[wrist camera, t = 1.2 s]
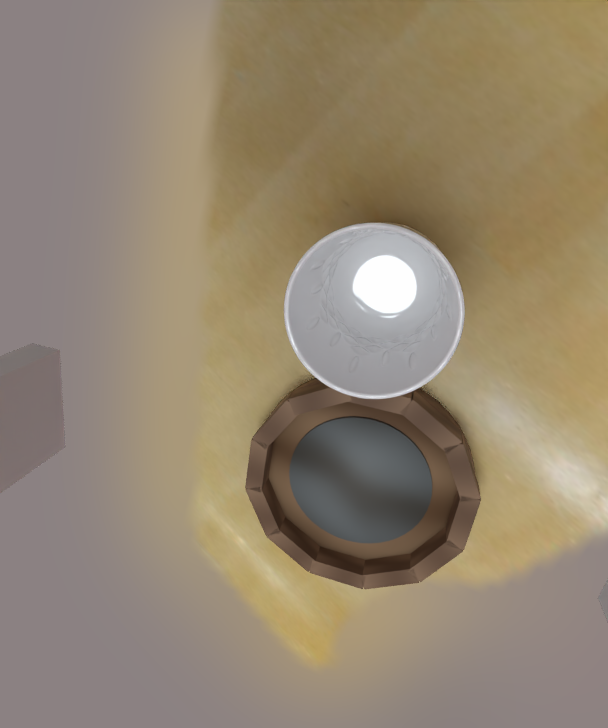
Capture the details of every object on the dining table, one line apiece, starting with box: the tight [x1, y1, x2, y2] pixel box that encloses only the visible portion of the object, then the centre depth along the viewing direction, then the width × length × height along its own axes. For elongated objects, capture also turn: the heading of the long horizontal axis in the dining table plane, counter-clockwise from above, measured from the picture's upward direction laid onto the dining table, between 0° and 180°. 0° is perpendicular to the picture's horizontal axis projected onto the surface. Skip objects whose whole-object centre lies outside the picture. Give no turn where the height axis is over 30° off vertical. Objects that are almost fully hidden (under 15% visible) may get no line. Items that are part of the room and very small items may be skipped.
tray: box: [245, 378, 481, 589], centre depth 34 cm, size 16×16×3 cm
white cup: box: [284, 222, 465, 399], centre depth 26 cm, size 8×8×10 cm
